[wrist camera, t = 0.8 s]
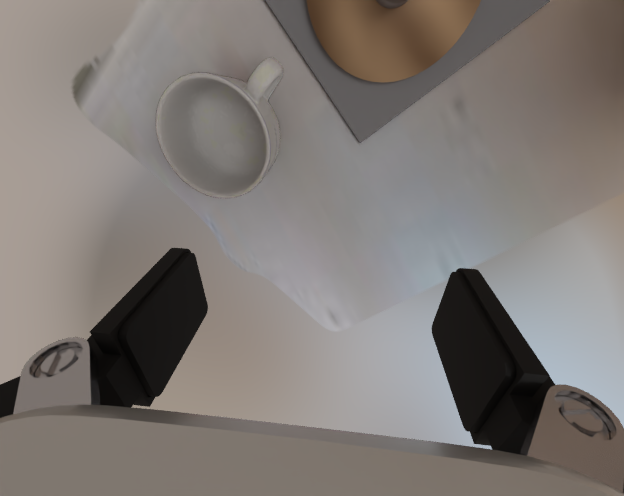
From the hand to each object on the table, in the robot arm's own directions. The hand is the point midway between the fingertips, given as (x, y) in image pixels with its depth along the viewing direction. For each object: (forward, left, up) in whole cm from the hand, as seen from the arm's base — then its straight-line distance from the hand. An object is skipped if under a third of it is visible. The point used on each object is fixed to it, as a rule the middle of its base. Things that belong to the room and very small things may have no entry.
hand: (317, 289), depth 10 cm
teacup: (+6, -8, -26) cm, 27 cm away
